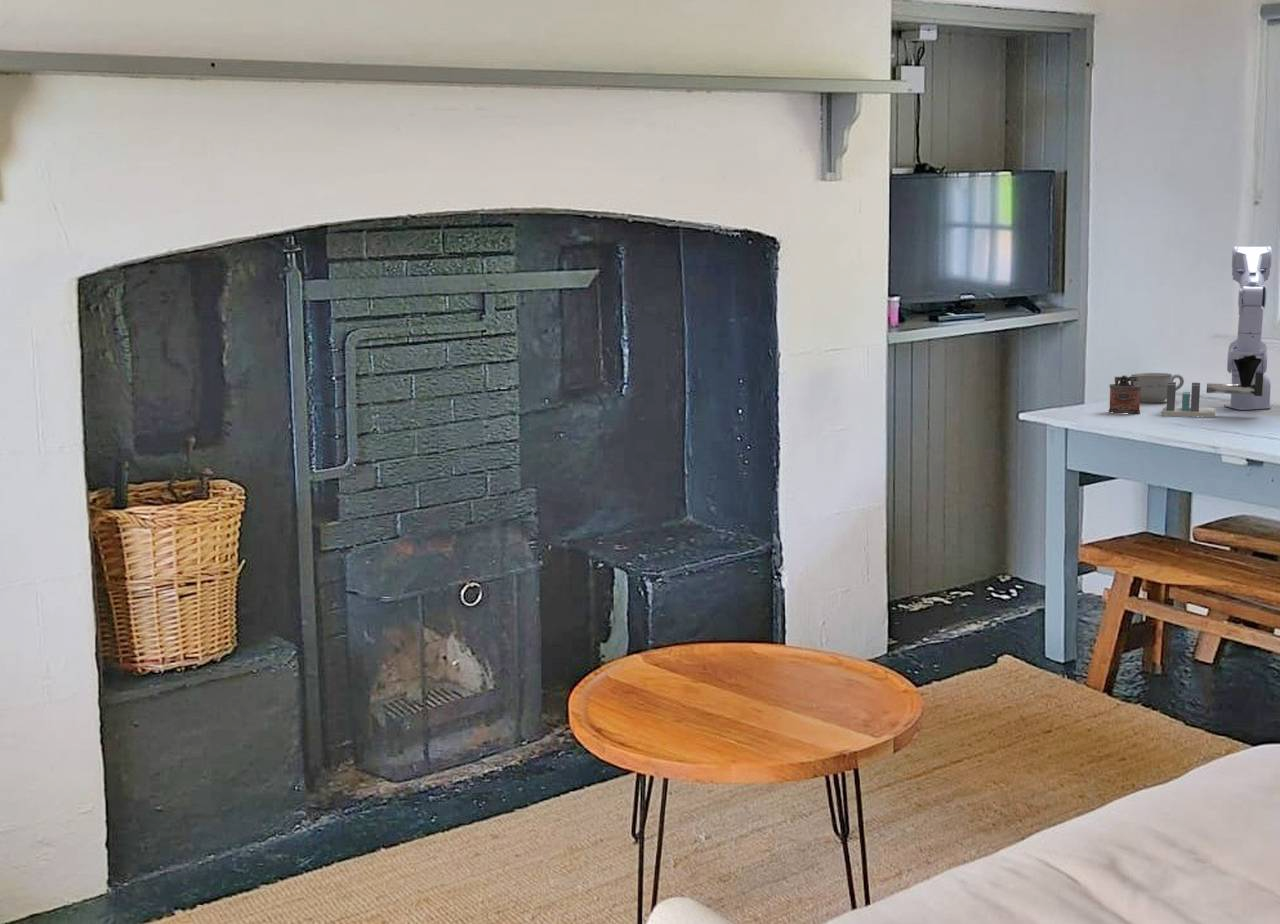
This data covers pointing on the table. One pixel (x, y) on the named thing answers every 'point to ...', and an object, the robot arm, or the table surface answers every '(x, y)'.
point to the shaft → (1238, 387)
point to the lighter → (1125, 395)
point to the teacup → (1155, 385)
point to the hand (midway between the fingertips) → (1245, 385)
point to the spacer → (1185, 401)
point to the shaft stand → (1193, 410)
